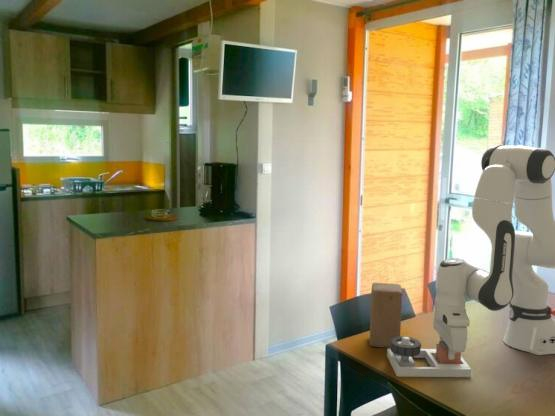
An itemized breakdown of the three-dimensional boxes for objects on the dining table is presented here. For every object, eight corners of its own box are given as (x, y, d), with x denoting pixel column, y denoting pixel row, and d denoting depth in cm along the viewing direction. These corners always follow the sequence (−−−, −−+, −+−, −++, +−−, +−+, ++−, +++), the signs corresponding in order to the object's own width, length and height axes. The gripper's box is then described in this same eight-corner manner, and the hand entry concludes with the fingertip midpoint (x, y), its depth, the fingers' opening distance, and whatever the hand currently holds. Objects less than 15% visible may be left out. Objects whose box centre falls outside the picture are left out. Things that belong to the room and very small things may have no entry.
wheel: (415, 344, 166) (416, 336, 166) (423, 356, 157) (423, 347, 157) (388, 344, 166) (388, 336, 166) (394, 356, 157) (394, 347, 157)
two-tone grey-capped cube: (455, 358, 165) (455, 339, 164) (460, 365, 160) (461, 346, 159) (435, 358, 165) (436, 340, 164) (440, 365, 160) (441, 346, 159)
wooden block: (399, 349, 174) (402, 292, 172) (369, 347, 176) (371, 290, 174) (398, 338, 184) (401, 283, 181) (370, 336, 186) (372, 281, 183)
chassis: (454, 356, 170) (456, 330, 168) (470, 377, 155) (472, 348, 154) (387, 355, 170) (388, 329, 168) (396, 376, 155) (398, 347, 154)
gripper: (429, 300, 170) (427, 340, 172) (450, 323, 150) (447, 368, 152) (449, 300, 170) (446, 341, 172) (472, 323, 150) (469, 368, 152)
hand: (447, 354), depth 162 cm, fingers closed on two-tone grey-capped cube, 5 cm apart
